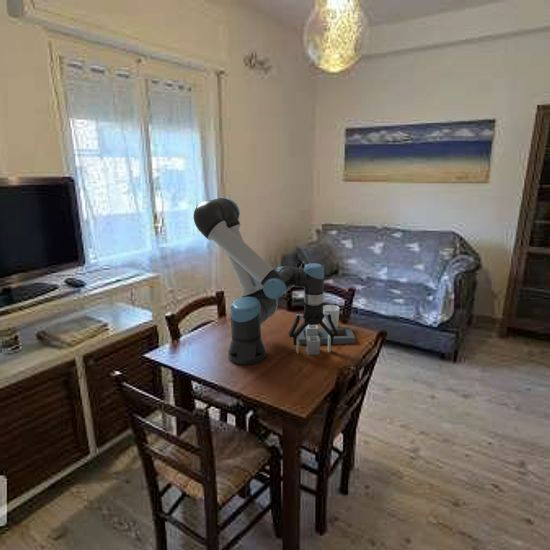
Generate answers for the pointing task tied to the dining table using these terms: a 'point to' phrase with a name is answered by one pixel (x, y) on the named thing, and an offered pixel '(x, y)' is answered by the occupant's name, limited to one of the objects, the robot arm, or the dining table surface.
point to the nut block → (313, 345)
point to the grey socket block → (323, 335)
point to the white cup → (334, 315)
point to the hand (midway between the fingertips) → (313, 351)
